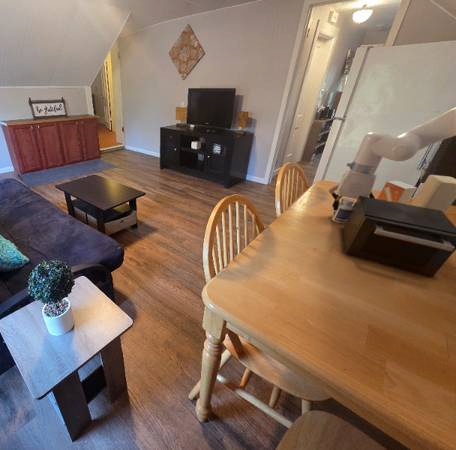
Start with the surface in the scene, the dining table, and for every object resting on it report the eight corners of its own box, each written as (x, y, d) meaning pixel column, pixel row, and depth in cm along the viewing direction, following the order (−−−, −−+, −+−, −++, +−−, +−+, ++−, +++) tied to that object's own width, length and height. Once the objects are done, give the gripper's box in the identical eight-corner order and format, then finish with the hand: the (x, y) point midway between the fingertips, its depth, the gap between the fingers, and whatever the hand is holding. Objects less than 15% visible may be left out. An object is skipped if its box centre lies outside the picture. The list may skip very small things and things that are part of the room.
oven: (429, 274, 75) (462, 234, 67) (345, 251, 85) (364, 214, 77) (415, 247, 87) (441, 210, 79) (342, 230, 96) (359, 195, 88)
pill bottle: (349, 223, 101) (360, 202, 96) (338, 224, 100) (348, 203, 95) (339, 216, 105) (348, 196, 100) (328, 217, 105) (337, 197, 99)
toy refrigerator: (431, 235, 93) (469, 184, 82) (408, 232, 95) (441, 182, 84) (420, 225, 100) (453, 176, 89) (398, 222, 102) (428, 174, 91)
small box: (371, 207, 113) (386, 181, 106) (383, 206, 114) (398, 180, 107) (388, 216, 106) (405, 188, 99) (401, 214, 107) (418, 187, 100)
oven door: (436, 287, 71) (472, 247, 63) (346, 261, 80) (367, 224, 72) (430, 274, 75) (462, 235, 67) (345, 251, 84) (364, 215, 76)
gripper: (336, 167, 91) (319, 209, 101) (394, 175, 84) (370, 220, 94) (335, 161, 97) (319, 202, 107) (390, 169, 90) (367, 212, 99)
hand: (343, 210), depth 100 cm, fingers closed on pill bottle, 5 cm apart
